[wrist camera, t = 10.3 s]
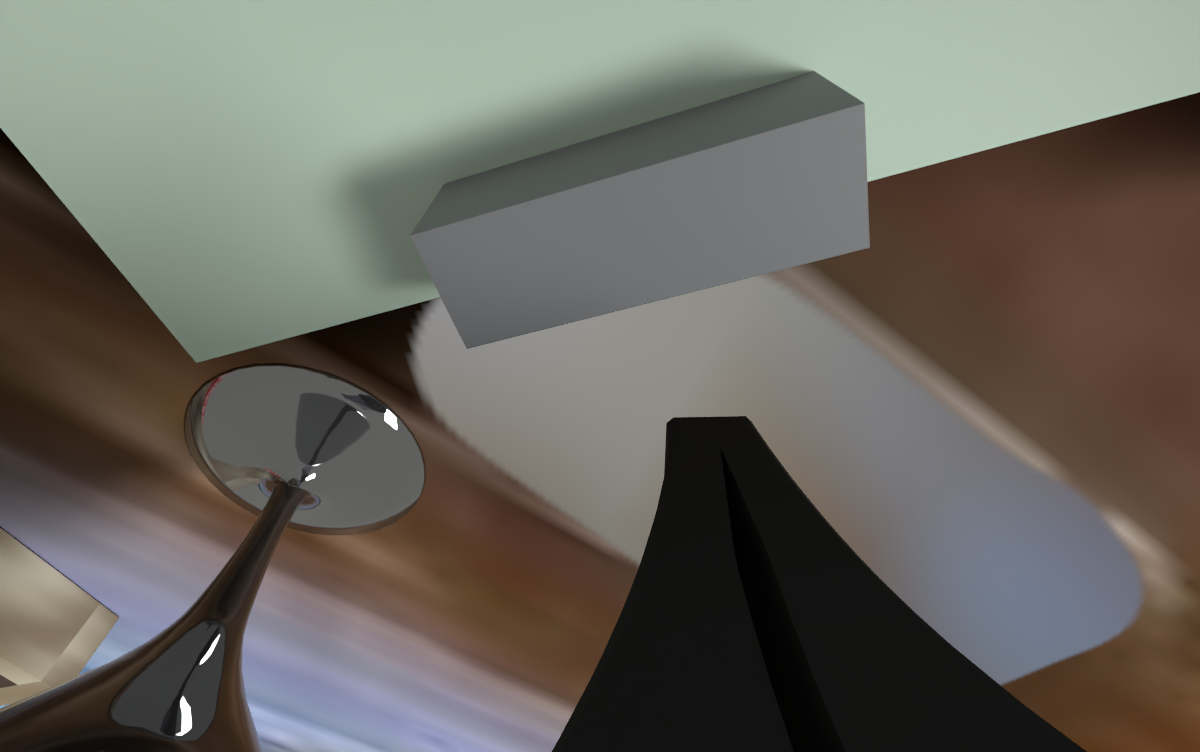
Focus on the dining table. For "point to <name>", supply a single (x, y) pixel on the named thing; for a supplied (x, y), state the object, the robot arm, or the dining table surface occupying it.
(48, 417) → the dining table surface
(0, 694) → the bottle frame
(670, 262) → the slide cover
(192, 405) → the wine glass
